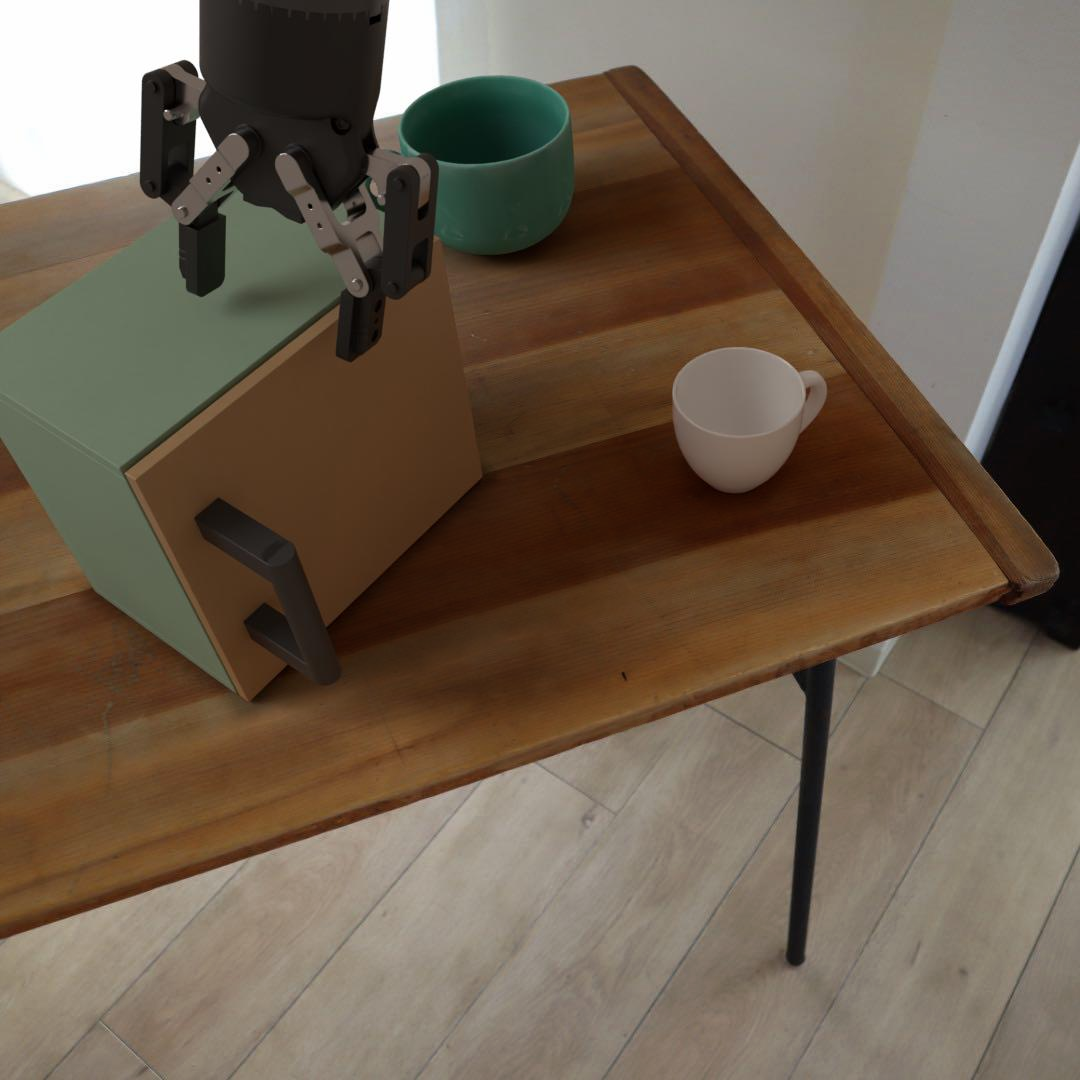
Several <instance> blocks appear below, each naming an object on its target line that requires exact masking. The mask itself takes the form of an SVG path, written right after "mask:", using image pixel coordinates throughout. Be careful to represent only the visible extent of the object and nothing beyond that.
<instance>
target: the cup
mask: <svg viewBox="0 0 1080 1080" xmlns="http://www.w3.org/2000/svg"><path fill="white" fill-rule="evenodd" d="M827 386H828V385H827V383H826V380H825V379H824V377H823V376H822V375H821V374H820V373H819V372H818V371H816V370H812V369H809V370H801V371H798V370H797V369H796V368H795V367H794V366H793V365H792V364H791V363H790V362H788V361H787V360H786V359H784V358H782V357H781V356H779V355H776V354H775V353H771V352H769V351H766V350H762V349H758V348H753V347H744V346H743V347H742V346H738V347H737V346H733V347H722V348H718V349H714V350H710V351H707V352H703V353H702V354H699V355H698V356H696V357H694V358H693V359H691V360H689V362H687V363H686V364H685V365H683V367H682V368H681V369H680V370H679V371H678V373H677V375H676V376H675V379H674V381H673V384H672V390H671V414H672V424H673V431H674V435H675V438H676V442H677V445H678V446H679V450H680V452H681V454H682V456H683V458H684V460H685V461H686V463H687V464H688V466H689V467H690V469H691V470H692V471H693V472H694V473H695V474H696V476H698V477H699V478H700V479H701V480H702V481H704V482H705V483H706V484H707V485H708V486H710V487H712V488H713V489H715V490H717V491H718V492H719V491H720V492H722V493H727V494H743V493H747V492H750V491H752V490H754V489H756V488H758V487H759V486H761V485H763V484H764V483H766V482H767V481H769V480H770V479H771V478H772V477H774V476H775V475H776V474H777V473H778V472H779V471H780V469H781V468H782V467H783V466H784V465H785V463H786V462H787V460H788V459H789V458H790V456H791V454H792V453H793V450H794V449H795V446H796V444H797V442H798V439H799V436H800V435H801V434H802V433H803V432H804V431H805V430H806V429H807V428H808V427H809V425H810V424H811V423H812V422H813V421H814V420H815V419H816V418H817V416H818V415H819V414H820V412H821V411H822V409H823V407H824V405H825V402H826V400H827V397H828V396H827V395H828V387H827ZM808 388H809V394H808V397H807V390H806V389H808ZM806 397H807V398H806Z"/></svg>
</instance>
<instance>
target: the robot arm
mask: <svg viewBox="0 0 1080 1080" xmlns="http://www.w3.org/2000/svg"><path fill="white" fill-rule="evenodd" d="M198 3H199V5H198V9H199V10H198V13H199V14H198V15H199V17H198V31H199V32H198V36H199V37H198V45H199V46H198V47H199V48H198V65H199V66H198V67H199V72H200V74H201V77H202V78H200V76H199V72H198V69H197V68H196V66H195V65H194V64H193V62H191V61H190V60H187V59H181V60H179V61H175V62H173V63H170V64H166V65H165V66H162V67H160V68H156V69H154V70H150V71H148V72H145V73H144V74H143V75H142V78H141V95H140V96H141V99H140V141H139V142H140V144H139V145H140V147H139V187H140V188H141V191H142V192H143V193H144V195H145V196H147V197H148V198H150V199H153V200H155V199H158V198H160V199H161V200H162V201H163V202H165V203H166V204H167V205H168V206H169V207H171V212H172V213H171V214H172V216H173V215H174V217H175V219H176V220H177V221H178V222H179V248H180V249H179V256H180V257H179V269H180V272H181V275H182V278H184V279H186V290H187V291H188V292H190V293H192V294H194V295H197V296H199V297H204V296H205V295H207V294H209V293H210V292H212V291H214V290H215V289H217V288H219V287H220V286H221V285H222V283H223V282H224V279H225V253H226V215H223V214H221V213H218V209H219V208H221V207H222V206H223V205H224V204H225V203H226V202H227V201H228V200H229V199H230V198H231V197H232V196H233V195H234V194H235V193H236V192H237V191H238V190H239V191H240V192H241V193H242V194H243V201H245V202H248V203H250V204H253V205H255V206H259V207H268V208H273V209H274V210H276V211H277V212H279V213H280V214H281V215H283V216H284V217H286V218H287V219H290V220H292V221H294V222H297V223H299V224H303V223H304V222H306V223H307V225H308V227H309V229H310V231H311V233H312V235H313V237H314V239H315V241H316V243H317V245H318V247H319V248H320V250H321V251H322V252H324V253H328V254H329V255H330V256H331V257H332V259H333V261H334V263H335V265H336V267H337V269H338V271H339V273H340V275H341V277H342V279H343V281H344V283H345V285H346V287H347V288H346V289H344V290H343V291H342V292H341V296H340V308H339V319H338V330H337V341H336V357H338V358H341V359H343V360H345V361H347V362H350V363H351V362H353V361H354V360H355V359H356V358H358V357H359V356H360V355H361V356H362V355H363V354H364V353H366V352H367V351H368V350H369V349H371V348H372V347H373V346H375V345H376V344H377V343H378V341H379V340H380V338H381V336H382V329H383V326H382V325H383V321H384V319H383V318H384V312H385V304H386V296H387V297H389V298H390V299H393V300H399V299H401V298H402V297H404V296H405V295H406V294H407V293H408V292H409V291H410V290H411V289H413V288H414V287H415V286H417V285H418V284H419V283H422V282H423V281H425V280H426V279H427V278H428V277H429V276H430V274H431V265H432V253H433V240H434V228H435V216H436V204H437V191H438V179H439V165H438V162H437V160H436V159H435V158H434V157H433V156H432V155H430V154H428V153H421V154H419V155H418V156H416V157H414V158H408V157H404V156H401V155H398V154H395V153H392V152H389V151H385V150H382V149H383V148H380V145H379V142H378V139H377V136H376V132H375V126H374V118H375V114H376V109H377V105H378V103H379V98H380V94H381V89H382V79H383V69H384V60H385V49H386V38H387V30H388V28H387V27H388V19H389V11H390V10H389V9H390V0H199V2H198ZM198 119H200V120H201V123H202V124H203V126H204V128H205V130H206V132H207V135H208V136H209V138H210V141H211V142H212V144H213V146H214V148H215V151H214V153H213V154H211V156H210V157H209V158H208V159H207V160H206V162H204V163H203V164H202V166H200V168H199V169H198V170H197V171H196V172H195V157H196V138H197V136H196V135H197V120H198ZM194 172H195V173H194ZM369 177H371V178H372V181H373V182H374V183H375V185H376V187H377V195H376V197H377V202H378V204H379V205H381V206H385V218H384V237H383V238H382V236H381V234H380V232H379V223H380V218H379V214H378V212H377V210H376V208H375V206H374V203H373V201H372V199H371V197H370V195H369V193H368V191H367V189H366V186H365V184H364V182H365V181H366V180H367V179H368V178H369ZM342 203H343V204H344V207H345V209H346V212H347V219H346V221H345V222H343V223H342V224H340V223H339V222H338V221H337V219H336V217H335V215H334V213H333V211H334V210H335V209H337V208H338V207H339V206H340V205H341V204H342Z"/></svg>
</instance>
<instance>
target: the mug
mask: <svg viewBox="0 0 1080 1080" xmlns="http://www.w3.org/2000/svg"><path fill="white" fill-rule="evenodd" d="M398 121H399V122H398V125H397V126H398V127H397V135H398V142H399V147H400V152H399V151H396V150H394V149H393V150H392V149H387V148H381V149H382V150H385V151H389V152H392V153H395V154H398V155H401V156H404V157H408V158H414V157H416V156H418V155H419V154H421V153H428V154H430V155H432V156H433V157H434V158H435V159H436V160H437V162H438V165H439V179H438V191H437V204H436V216H435V228H434V236H437V237H439V238H440V239H441V244H443V245H445V246H447V247H449V248H451V249H453V250H457V251H459V252H463V253H467V254H472V255H480V256H497V255H504V254H510V253H514V252H519V251H521V250H525V249H527V248H529V247H532V246H534V245H536V244H537V243H539V242H541V241H543V240H545V238H547V237H548V236H550V235H551V234H552V233H553V232H554V231H555V230H556V229H557V228H558V227H559V226H560V225H561V223H562V222H563V220H564V219H565V217H566V216H567V214H568V211H569V209H570V207H571V204H572V200H573V195H574V190H575V152H574V135H573V125H572V115H571V109H570V106H569V103H568V102H567V101H566V99H565V97H564V96H562V94H561V93H559V92H558V91H557V90H556V89H554V88H553V87H551V86H550V85H548V84H545V83H543V82H540V81H537V80H536V79H532V78H528V77H523V76H517V75H505V74H504V75H503V74H497V75H495V74H494V75H493V74H491V75H478V76H471V77H465V78H461V79H457V80H453V81H449V82H447V83H444V84H441V85H439V86H437V87H434V88H432V89H431V90H428V91H427V92H425V93H423V94H421V95H420V96H418V97H417V98H416V99H415V100H414V101H412V102H411V103H410V104H409V105H408V107H406V109H405V110H404V112H402V114H401V117H400V119H399V120H398ZM372 181H373V179H372V178H371V177H369V178H368V179H367V180H366V181H365V182H364V184H365V186H366V189H367V191H368V193H369V195H370V197H371V199H372V201H373V203H374V206H375V208H376V209H378V210H380V211H382V212H385V206H381V205H379V204H378V202H377V195H375V194H374V193H373V192H372V189H371V183H372Z"/></svg>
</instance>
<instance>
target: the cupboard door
mask: <svg viewBox="0 0 1080 1080" xmlns="http://www.w3.org/2000/svg"><path fill="white" fill-rule="evenodd" d="M339 308H340V304H339V305H338V306H336V307H335V308H334V309H333V310H331V311H330V312H329V313H328V314H326V315H325V316H324V317H322V318H321V319H320V320H319V321H317V322H316V323H315V324H314V325H312V326H311V327H310V328H308V329H307V330H306V331H305V332H303V333H302V334H301V335H300V336H298V337H297V338H296V339H294V340H293V341H292V342H291V343H289V344H288V345H287V346H286V347H284V348H283V349H282V350H280V351H279V352H278V353H277V354H275V355H274V356H273V357H272V358H270V359H269V360H268V361H266V362H265V363H264V364H263V365H261V366H260V367H259V368H258V369H256V370H255V371H254V372H252V373H251V374H250V375H249V376H247V377H246V378H245V379H244V380H242V381H241V382H240V383H239V384H237V385H236V386H235V387H233V388H232V389H231V390H230V391H228V392H227V393H226V394H225V395H223V396H222V397H221V398H219V399H218V400H217V401H216V402H214V403H213V404H212V405H211V406H209V407H208V408H207V409H205V410H204V411H203V412H202V413H200V414H199V415H198V416H197V417H195V418H194V419H193V420H191V421H190V422H189V423H188V424H186V425H185V426H184V427H183V428H181V429H180V430H179V431H177V432H176V433H175V434H174V435H172V436H171V437H170V438H169V439H167V440H166V441H165V442H163V443H162V444H161V445H160V446H158V447H157V448H156V449H155V450H153V451H152V452H151V453H149V454H148V455H147V456H146V457H144V458H143V459H142V460H141V461H139V462H138V463H137V464H136V465H134V466H133V467H132V468H130V469H129V470H128V471H127V472H125V475H126V477H127V479H128V481H129V483H130V485H131V486H132V488H133V490H134V492H135V494H136V496H137V498H138V500H139V502H140V504H141V506H142V508H143V510H144V512H145V513H146V515H147V517H148V519H149V521H150V523H151V525H152V527H153V529H154V531H155V533H156V535H157V537H158V539H159V541H160V542H161V544H162V546H163V548H164V550H165V552H166V554H167V556H168V558H169V560H170V562H171V564H172V566H173V568H174V569H175V571H176V573H177V575H178V577H179V579H180V581H181V583H182V585H183V587H184V589H185V591H186V593H187V595H188V597H189V598H190V600H191V602H192V604H193V606H194V608H195V610H196V612H197V614H198V616H199V618H200V620H201V622H202V624H203V625H204V627H205V629H206V631H207V633H208V635H209V637H210V639H211V641H212V643H213V645H214V647H215V649H216V651H217V653H218V654H219V656H220V658H221V660H222V662H223V664H224V666H225V668H226V670H227V672H228V674H229V676H230V678H231V680H232V681H233V683H234V685H235V687H236V689H237V691H238V695H239V697H241V698H242V699H244V700H245V701H247V702H251V701H252V700H253V699H254V698H255V697H256V696H257V695H258V694H259V693H260V692H261V691H262V690H264V688H265V687H266V686H268V684H269V683H270V682H272V681H273V679H275V678H276V677H277V676H278V675H279V674H280V673H281V672H282V671H283V670H284V669H285V668H286V667H287V666H290V667H291V668H292V669H294V670H295V671H297V672H299V673H300V674H302V675H303V676H304V677H305V678H307V679H308V680H310V681H312V683H314V684H315V685H318V686H321V687H328V686H332V685H334V684H335V683H336V682H338V681H339V679H340V678H341V676H342V673H343V672H342V671H343V670H342V666H341V663H340V661H339V658H338V656H337V652H336V650H335V647H334V645H333V643H332V640H331V637H330V635H329V632H328V629H327V627H329V626H330V625H331V624H332V623H333V622H334V621H335V620H336V619H337V618H338V617H339V616H340V615H341V614H342V613H343V612H344V611H345V610H346V609H348V607H349V606H350V605H351V604H353V602H354V601H355V600H356V599H357V598H359V597H360V595H362V594H363V593H364V592H365V591H366V590H367V589H368V588H369V587H370V586H372V584H373V583H374V582H375V581H376V580H377V579H378V578H379V577H380V576H382V574H384V573H385V571H387V570H388V568H390V567H391V566H392V565H393V564H394V563H395V562H396V561H397V560H398V559H399V558H400V557H401V556H402V555H403V554H404V553H405V552H406V551H407V550H408V549H409V548H411V546H413V545H414V544H415V543H416V542H417V541H418V540H419V539H420V538H421V537H422V536H423V535H424V534H425V533H426V532H428V530H429V529H430V528H431V527H432V526H433V525H434V524H436V522H438V521H439V519H441V518H442V517H443V516H444V515H445V514H446V513H447V512H448V511H449V510H450V509H451V508H452V507H453V506H454V505H455V504H456V503H457V502H458V501H459V500H460V499H461V498H462V497H464V495H465V494H466V493H468V491H470V490H471V488H473V487H474V486H475V485H476V484H477V483H478V482H479V481H480V480H481V479H482V478H483V477H484V475H483V470H482V464H481V458H480V454H479V453H480V452H479V447H478V442H477V438H476V431H475V427H474V426H475V425H474V419H473V413H472V408H471V403H470V396H469V392H468V386H467V380H466V375H465V374H466V373H465V368H464V363H463V358H462V352H461V347H460V346H461V345H460V340H459V335H458V329H457V324H456V318H455V313H454V306H453V301H452V296H451V289H450V284H449V279H448V273H447V268H446V263H445V257H444V252H443V246H442V242H441V239H440V238H439V237H437V236H434V240H433V253H432V265H431V274H430V276H429V277H428V278H427V279H426V280H425V281H423V282H422V283H419V284H418V285H417V286H415V287H414V288H413V289H411V290H410V291H409V292H408V293H407V294H406V295H405V296H404V297H402V298H401V299H399V300H393V299H390V298H389V297H387V296H386V304H385V312H384V318H383V319H384V321H383V325H382V326H383V329H382V336H381V338H380V340H379V341H378V343H377V344H376V345H375V346H373V347H372V348H371V349H369V350H368V351H367V352H366V353H364V354H363V355H362V356H361V355H360V356H359V357H358V358H356V359H355V360H354V361H353V362H351V363H350V362H347V361H345V360H343V359H341V358H338V357H336V341H337V330H338V319H339Z"/></svg>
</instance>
